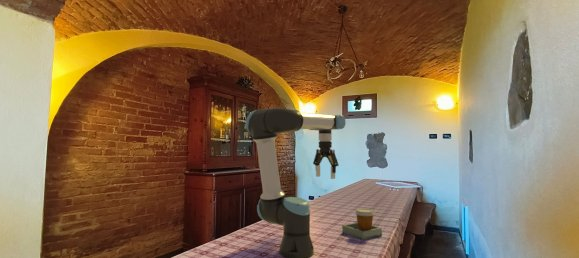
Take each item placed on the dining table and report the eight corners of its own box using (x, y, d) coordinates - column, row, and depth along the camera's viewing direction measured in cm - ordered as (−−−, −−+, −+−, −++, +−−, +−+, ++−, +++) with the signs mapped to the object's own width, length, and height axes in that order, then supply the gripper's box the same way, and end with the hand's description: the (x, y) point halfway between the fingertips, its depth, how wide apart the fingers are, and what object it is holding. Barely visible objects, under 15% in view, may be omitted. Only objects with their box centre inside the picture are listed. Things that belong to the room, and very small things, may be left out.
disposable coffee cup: (374, 236, 150) (374, 212, 150) (355, 235, 152) (355, 211, 152) (373, 231, 159) (373, 208, 160) (355, 230, 161) (355, 208, 162)
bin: (362, 240, 147) (362, 232, 147) (342, 232, 160) (342, 225, 160) (381, 235, 154) (381, 228, 155) (360, 228, 167) (360, 221, 167)
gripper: (344, 140, 163) (345, 179, 162) (317, 141, 184) (317, 175, 183) (334, 140, 159) (334, 180, 158) (307, 141, 180) (307, 176, 179)
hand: (325, 177), depth 170 cm, fingers open, 13 cm apart
